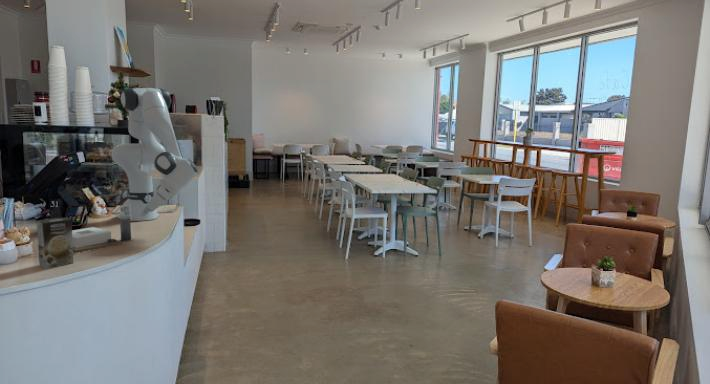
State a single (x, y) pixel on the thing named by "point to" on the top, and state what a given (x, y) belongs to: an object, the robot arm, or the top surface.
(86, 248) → the socket board
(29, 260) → the top surface
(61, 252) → the coffee box
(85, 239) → the socket housing
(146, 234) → the top surface
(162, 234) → the top surface
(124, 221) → the plug
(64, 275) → the top surface
